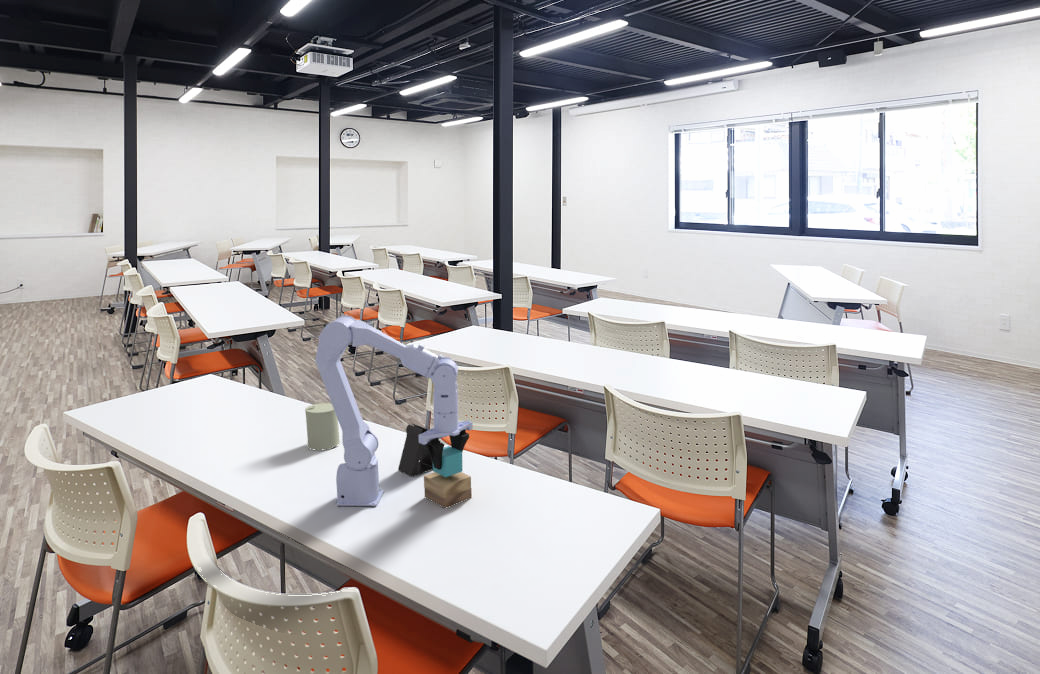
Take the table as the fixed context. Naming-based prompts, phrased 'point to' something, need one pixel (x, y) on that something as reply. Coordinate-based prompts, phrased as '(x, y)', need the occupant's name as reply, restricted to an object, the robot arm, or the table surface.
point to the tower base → (449, 500)
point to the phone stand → (415, 453)
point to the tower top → (447, 483)
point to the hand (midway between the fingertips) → (447, 464)
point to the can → (322, 426)
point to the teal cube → (450, 462)
